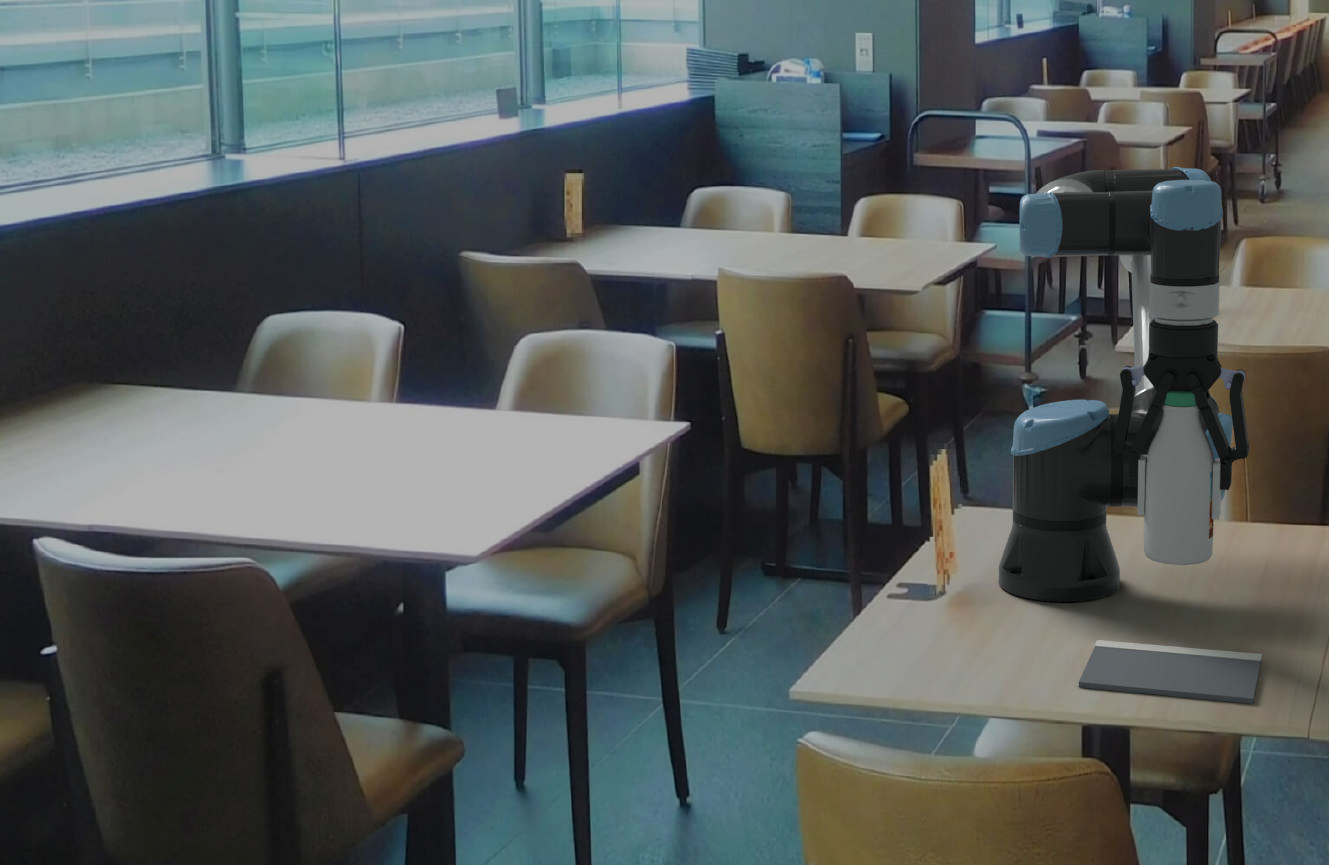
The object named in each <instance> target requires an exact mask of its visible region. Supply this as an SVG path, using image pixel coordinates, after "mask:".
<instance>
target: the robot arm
mask: <svg viewBox="0 0 1329 865" xmlns="http://www.w3.org/2000/svg"><path fill="white" fill-rule="evenodd" d="M1223 216H1224V209H1223V205H1222V188H1221V186H1220V184H1218V183H1217V182H1215V181H1212V179H1211V178H1210V176H1209V175H1208V173H1207V172H1205V171H1204V170H1202V169H1199V168H1187V167H1180V166H1173V167H1170V168H1164V169H1163V168H1160V169H1159V168H1157V169H1155V168H1154V169H1152V168H1151V169H1149V168H1147V169H1099V170H1097V169H1096V170H1093V169H1092V170H1086V171H1081V172H1077V173H1073V174H1070V175H1066V176H1063V177H1059V178H1057V179H1055V180H1052V181H1050V182H1048V183H1046V184H1045V185H1043V186H1042V187H1041V188H1040V189H1039V190H1037V192H1036V193H1027V194H1025V195H1023V196H1022V197H1021V199H1020V201H1019V251H1020V252H1021V254H1022V255H1023V256H1027V257H1042V258H1045V259H1046V258H1048V259H1049V258H1056V257H1058V258H1060V257H1087V256H1088V257H1092V256H1108V257H1109V256H1119V259H1120V262H1121V265H1122V266H1123V267H1124V269H1126V271H1128V272H1130V273H1131V293H1132V320H1133V323H1132V326H1133V347H1134V348H1133V350H1134V353H1133V354H1134V356H1133V357H1134V367H1132V366H1130V365H1126V366H1124V367H1123V368H1122V369H1121V371H1120V373H1119V379H1120V382H1121V383H1120V384H1121V387H1122V393H1121V397H1120V398H1121V400H1120V403H1119V409H1118V413H1110V409H1109V407H1108V405H1107V403H1106V402H1103V401H1102V400H1097V399H1090V400H1088V399H1069V400H1061V401H1055V402H1049V403H1044V404H1041V405H1038V406H1035V407H1031V408H1030V409H1027V410H1025V411H1024V412H1022V413H1021V414H1020V415H1018V417H1017V418H1016V419H1015V422H1014V426H1013V435H1012V436H1013V440H1012V446H1011V450H1010V453H1011V455H1012V457H1013V459H1012V460H1013V463H1012V464H1013V466H1012V467H1013V468H1012V471H1013V472H1012V476H1013V477H1012V525H1011V529H1010V532H1009V535H1008V538H1007V540H1006V544H1005V547H1004V549H1003V553H1002V555H1001V558H1000V561H999V564H998V585H999V586H1000V587H1001V589H1002V590H1004V591H1006V592H1007V593H1009V594H1012V595H1014V596H1018V597H1021V598H1026V599H1029V600H1036V601H1042V602H1043V601H1044V602H1045V601H1046V602H1059V603H1060V602H1061V603H1062V602H1063V603H1064V602H1065V603H1067V602H1068V603H1069V602H1084V601H1093V600H1098V599H1100V598H1101V599H1102V598H1104V597H1108V596H1110V595H1111V594H1114V593H1116V592H1117V591H1118V590H1119V588H1120V585H1121V584H1120V583H1121V582H1120V581H1121V570H1120V565H1119V561H1118V559H1117V556H1116V552H1115V550H1114V546H1113V544H1112V540H1111V537H1110V534H1109V531H1108V527H1107V509H1108V508H1110V507H1115V508H1117V507H1119V508H1120V507H1123V508H1127V507H1128V508H1137V515H1138V516H1144V514H1145V478H1146V461H1147V455H1148V451H1149V447H1150V445H1151V442H1152V440H1153V438H1154V436H1155V434H1156V432H1157V430H1158V428H1159V425H1160V422H1161V419H1162V415H1163V409H1162V408H1161V407H1162V405H1163V403H1164V401H1165V398H1166V395H1167V393H1168V392H1169V391H1191V392H1192V393H1193V394H1194V396H1195V401H1196V403H1197V406H1198V408H1199V410H1200V416H1201V421H1202V425H1203V428H1204V430H1205V433H1206V435H1207V437H1208V440H1209V442H1210V444H1211V447H1212V451H1213V455H1214V463H1213V489H1212V519H1214V520H1216V521H1217V520H1219V519H1220V516H1221V511H1222V510H1221V509H1222V508H1221V506H1222V501H1223V500H1224V498H1225V493H1226V491H1229V490H1230V488H1231V485H1232V483H1233V482H1232V481H1233V480H1232V479H1233V475H1232V474H1233V463H1234V462H1235V461H1239V460H1245V459H1246V458H1247V457H1248V456H1249V452H1250V444H1249V442H1250V441H1249V436H1248V426H1247V420H1246V412H1245V411H1246V410H1245V403H1244V396H1243V394H1244V393H1243V387H1244V383H1245V379H1246V372H1245V370H1243V369H1242V368H1241V369H1237V370H1234V369H1233V370H1232V369H1228V368H1225V367H1222V365H1221V363H1220V361H1219V358H1218V357H1219V356H1218V351H1219V350H1218V346H1219V345H1218V344H1219V340H1218V339H1219V323H1217V321H1216V320H1215V318H1216V317H1218V315H1220V313H1219V311H1220V285H1221V284H1220V283H1221V282H1220V260H1221V259H1220V257H1221V238H1222V237H1221V235H1222V234H1221V233H1222V218H1223ZM1219 379H1221V380H1222V382H1223V386H1224V388H1225V389H1227V390H1228V391H1229V393H1228V394H1229V396H1228V397H1229V404H1230V412H1231V414H1228V413H1227V414H1226V413H1225V412H1220V407H1219V405H1218V402H1217V399H1215V397H1214V396H1213V395H1212V394H1211V393H1210V389H1211V388H1212V387H1213V385H1214V384H1216V382H1217V380H1219ZM1233 437H1234V443H1235V446H1233V447H1232V439H1233Z"/></svg>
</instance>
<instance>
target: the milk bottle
mask: <svg viewBox="0 0 1329 865" xmlns="http://www.w3.org/2000/svg"><path fill="white" fill-rule="evenodd" d="M1161 408H1162V409H1163V415H1162V419H1161V422H1160V425H1159V428H1158V430H1157V432H1156V434H1155V436H1154V438H1153V440H1152V442H1151V445H1150V447H1149V451H1148V455H1147V461H1146V478H1145V514H1144V515H1143V517H1144V518H1143V525H1144V526H1143V552H1144V554H1145V556H1146V558H1148V559H1149V560H1151V561H1152V562H1157V563H1161V564H1165V565H1167V564H1168V565H1174V566H1187V565H1188V566H1191V565H1192V566H1193V565H1198V564H1201V563H1205V562H1208V561H1209V560H1210V559H1211V557H1212V555H1213V546H1214V543H1213V542H1214V520H1215V519H1212V489H1213V463H1214V455H1213V451H1212V447H1211V444H1210V442H1209V440H1208V437H1207V435H1206V433H1205V430H1204V428H1203V425H1202V421H1201V416H1200V410H1199V408H1198V406H1197V403H1196V401H1195V396H1194V394H1193V393H1192V392H1191V391H1169V392H1168V393H1167V395H1166V398H1165V401H1164V403H1163V405H1162V407H1161Z"/></svg>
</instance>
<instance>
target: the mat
mask: <svg viewBox="0 0 1329 865" xmlns="http://www.w3.org/2000/svg"><path fill="white" fill-rule="evenodd" d="M1094 644H1095V645H1094V648H1093V650H1092V652H1091V654H1090V656H1089V658H1088V661H1087V663H1086V665H1085V667H1084V670H1083V672H1082V674H1081V676H1080V678H1079V680H1078V688H1085V689H1086V688H1087V689H1095V690H1103V691H1106V690H1107V691H1116V692H1127V693H1136V694H1147V695H1156V696H1157V695H1158V696H1168V697H1176V698H1177V697H1178V698H1188V699H1199V700H1208V701H1221V702H1229V703H1231V702H1232V703H1238V704H1239V703H1240V704H1241V703H1242V704H1249V705H1250V704H1251V705H1253V704H1254V701H1255V695H1256V691H1257V685H1258V682H1259V681H1258V679H1259V675H1260V670H1261V666H1262V660H1263V658H1262V657H1263V655H1262V653H1253V652H1252V653H1250V652H1242V651H1241V652H1240V651H1239V652H1238V651H1230V650H1218V649H1206V648H1197V647H1196V648H1195V647H1193V648H1192V647H1183V646H1172V645H1171V646H1170V645H1162V644H1161V645H1160V644H1159V645H1158V644H1148V643H1137V642H1124V641H1123V642H1122V641H1115V640H1114V641H1111V640H1102V639H1101V640H1100V639H1097V640H1096V642H1095V643H1094Z"/></svg>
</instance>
